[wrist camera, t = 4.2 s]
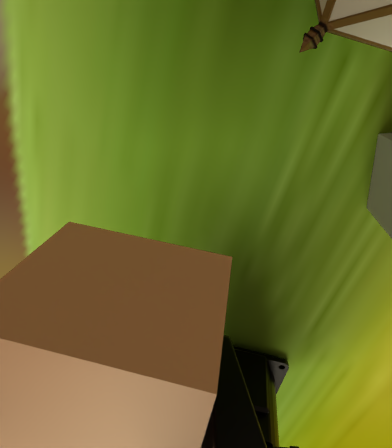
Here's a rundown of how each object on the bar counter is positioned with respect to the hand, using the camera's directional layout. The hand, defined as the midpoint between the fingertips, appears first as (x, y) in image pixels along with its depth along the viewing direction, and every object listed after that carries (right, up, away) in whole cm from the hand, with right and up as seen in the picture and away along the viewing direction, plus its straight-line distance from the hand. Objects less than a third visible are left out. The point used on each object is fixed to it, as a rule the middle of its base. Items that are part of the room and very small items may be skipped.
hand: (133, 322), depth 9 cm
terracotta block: (0, 0, +1) cm, 1 cm away
